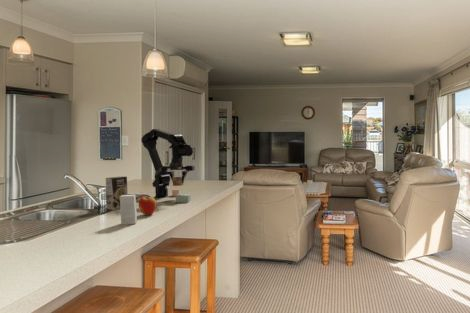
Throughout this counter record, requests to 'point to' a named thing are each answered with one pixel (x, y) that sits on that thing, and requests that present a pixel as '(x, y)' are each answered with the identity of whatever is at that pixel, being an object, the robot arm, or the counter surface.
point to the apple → (147, 205)
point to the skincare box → (128, 209)
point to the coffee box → (115, 191)
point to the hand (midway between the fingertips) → (178, 183)
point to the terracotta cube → (175, 192)
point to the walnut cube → (177, 181)
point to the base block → (183, 198)
